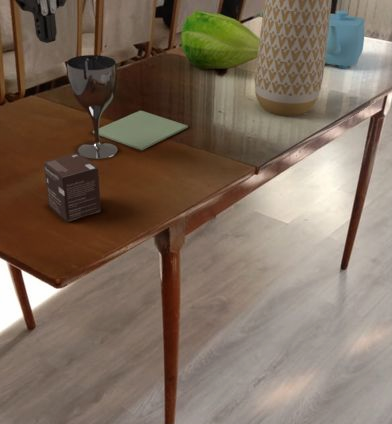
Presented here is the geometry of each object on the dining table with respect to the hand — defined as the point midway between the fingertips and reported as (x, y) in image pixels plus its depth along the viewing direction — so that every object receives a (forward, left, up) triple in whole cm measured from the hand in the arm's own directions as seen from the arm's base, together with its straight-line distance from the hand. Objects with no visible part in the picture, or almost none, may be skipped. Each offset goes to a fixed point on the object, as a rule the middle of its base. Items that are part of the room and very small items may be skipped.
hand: (47, 41), depth 94 cm
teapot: (+84, -9, -20) cm, 87 cm away
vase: (+50, -15, -20) cm, 56 cm away
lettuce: (+61, +9, -20) cm, 65 cm away
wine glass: (+9, 0, -20) cm, 22 cm away
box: (-9, -12, -20) cm, 25 cm away
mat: (+21, 0, -20) cm, 29 cm away
